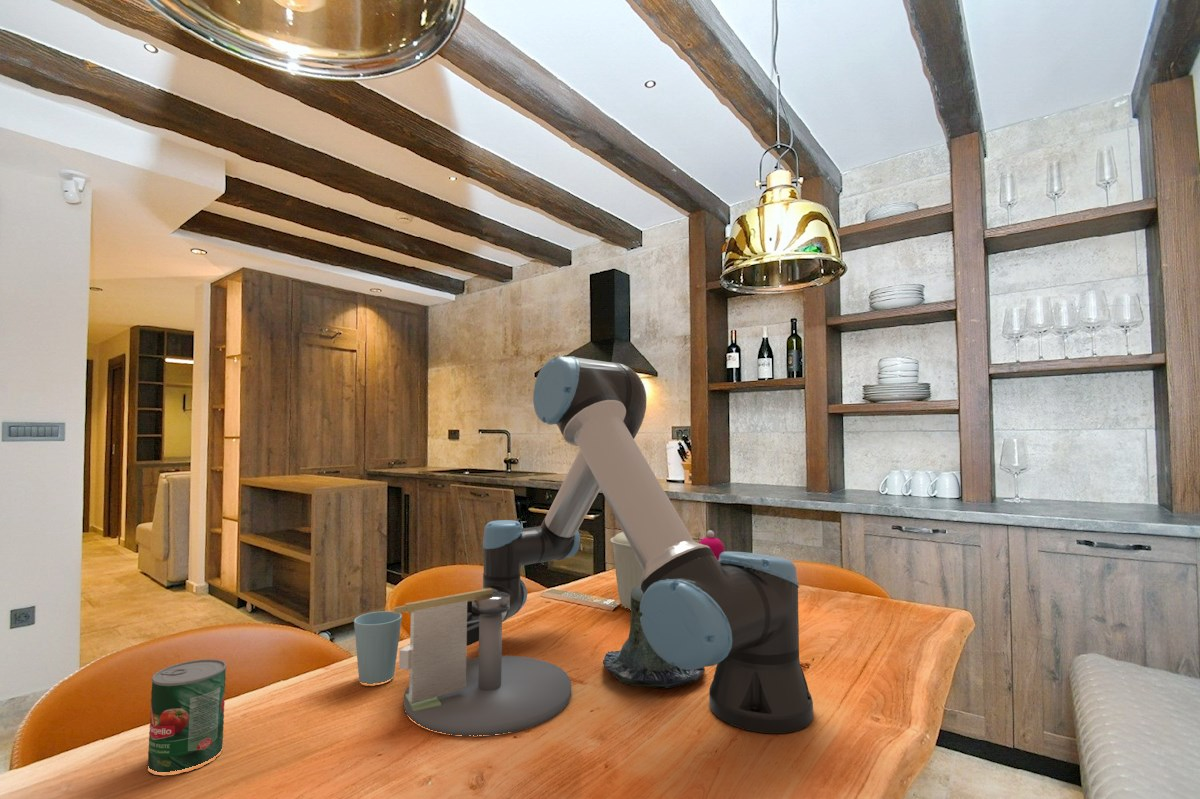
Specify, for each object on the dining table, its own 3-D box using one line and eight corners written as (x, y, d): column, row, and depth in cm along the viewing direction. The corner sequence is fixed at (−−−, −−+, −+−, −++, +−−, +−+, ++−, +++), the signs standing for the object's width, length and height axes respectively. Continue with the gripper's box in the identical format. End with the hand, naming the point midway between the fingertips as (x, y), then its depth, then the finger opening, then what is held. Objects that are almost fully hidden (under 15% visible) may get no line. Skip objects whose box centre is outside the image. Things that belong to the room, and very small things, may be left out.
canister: (601, 615, 135) (601, 524, 136) (620, 595, 152) (620, 514, 153) (678, 622, 129) (677, 527, 131) (689, 601, 147) (688, 517, 148)
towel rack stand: (497, 668, 96) (498, 582, 97) (515, 680, 92) (516, 589, 93) (383, 701, 84) (386, 602, 85) (398, 716, 80) (401, 611, 81)
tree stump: (716, 660, 108) (715, 571, 105) (693, 735, 90) (692, 631, 87) (623, 642, 115) (620, 558, 112) (585, 709, 96) (580, 611, 93)
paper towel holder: (597, 714, 86) (597, 627, 87) (415, 753, 75) (417, 654, 76) (540, 655, 109) (540, 588, 110) (395, 679, 98) (397, 604, 99)
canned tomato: (236, 742, 78) (239, 658, 78) (197, 776, 70) (201, 682, 71) (175, 743, 77) (180, 659, 78) (130, 777, 69) (135, 683, 70)
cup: (345, 691, 94) (348, 625, 94) (358, 672, 101) (361, 611, 102) (394, 688, 95) (396, 623, 95) (403, 670, 102) (405, 610, 103)
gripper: (510, 637, 105) (442, 691, 82) (447, 631, 109) (364, 681, 86) (511, 595, 106) (443, 637, 83) (448, 590, 109) (366, 630, 86)
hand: (403, 660), depth 84 cm, fingers closed
